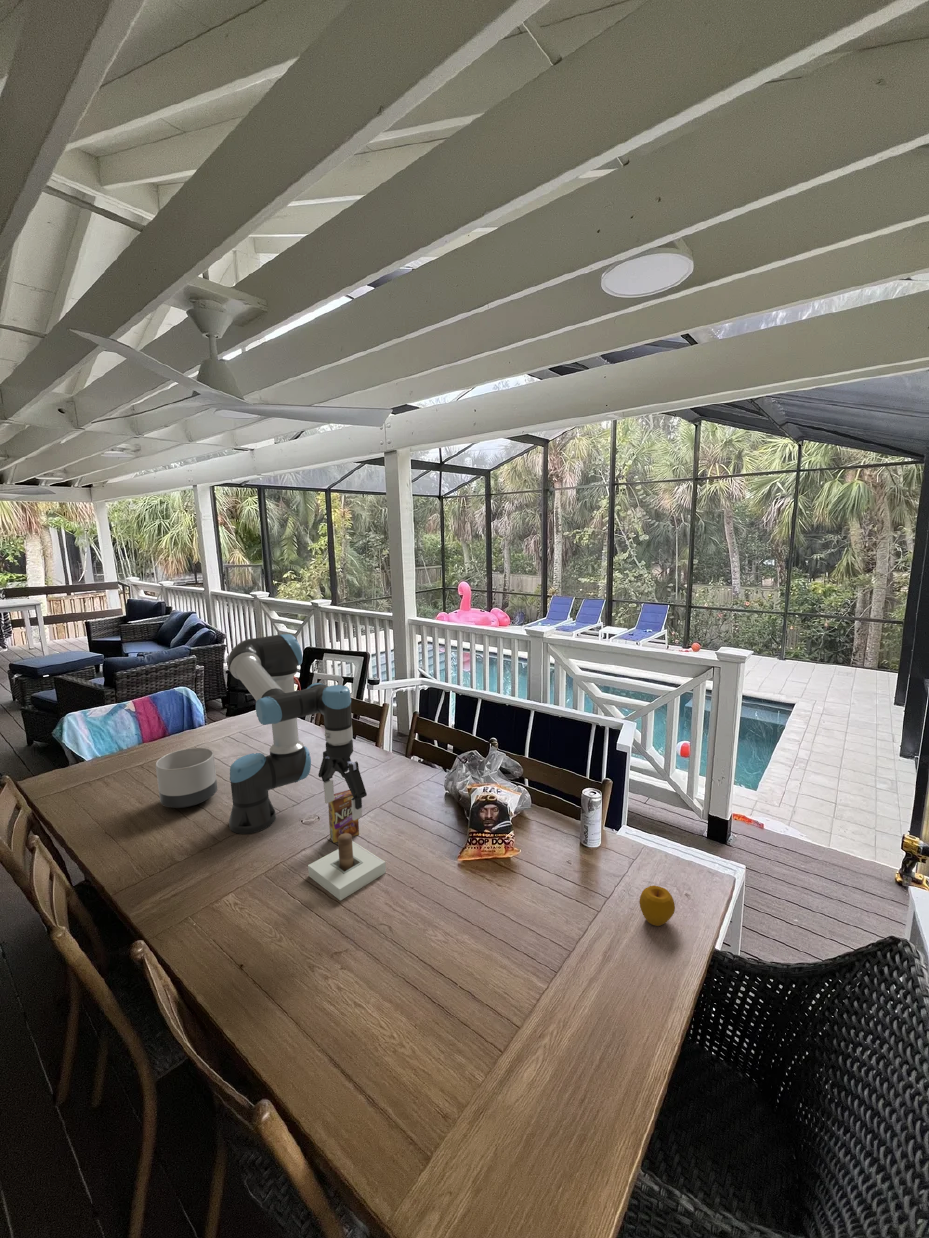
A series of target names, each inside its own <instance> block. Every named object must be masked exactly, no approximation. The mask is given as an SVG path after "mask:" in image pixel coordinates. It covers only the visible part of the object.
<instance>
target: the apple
mask: <svg viewBox="0 0 929 1238" xmlns="http://www.w3.org/2000/svg"><path fill="white" fill-rule="evenodd" d="M675 904H676V903H675V901H674V897H673V895H672V894H671V893H670V892H669V890H668V889H666V888H664V887H662V886H659V885H649V886H647V887H645V888H644V889H643V890H642V892H641V894H640V896H639V907H640V910H641V913H642V915H643V917H644V919H645V920H646V921H647V923H648V924H650V925H652V926H654V927H655V926H656V927H660V926H663V925H665V924H667V923H668V921H669V920H670V919H671V918H672V917H673V915H674V913H675V910H676V906H675Z"/></svg>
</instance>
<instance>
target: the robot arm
mask: <svg viewBox="0 0 929 1238" xmlns="http://www.w3.org/2000/svg"><path fill="white" fill-rule="evenodd" d="M302 663H303V651H302V649H301V644H300V643H299V641H298V640H297V638H296V637H295V636H294V635H293V634H290V633H285V634H283V633H282V634H280V633H279V634H275V635H274V634H273V635H267V636H266V635H265V636H262V637H261V636H260V637H255V638H247V639H244V640H242V641H240V642H238V644H236V645H235V646H234V647H233V648H232V649H231V651H230V652H229V655H228V658H227V668H228V671H229V672H230V674H231V675H232V677H234V678H235V679H237V680H239V681H240V682H241V683H242V685H244V687H245V689H247V690H248V692H249V693H250V695H251V696H252V698H254V700H255V713H256V718H257V720H258V722H259V724H261V725H263V726H266V725H267V726H268V725H271V730H272V742H273V744H272V745H271V746H270V748H269V754H268V755H265V754H263V753H261V752H256V753H248V754H245V755H243V756H241V757H238V758H237V759H236V760H235V761H234V762H232V764H231V765H230V768H229V781H230V790H231V791H230V792H231V799H232V800H231V801H232V809H231V810H230V811H231V812H230V816H229V819H228V824H229V829H230V831H231V832H233V833H236V834H239V835H240V834H241V835H248V834H253V833H258V832H260V831H264V830H266V829H267V828H269V827H270V826H272V825H273V823H275V821H276V817H277V816H276V815H277V814H276V809H275V807H274V805H273V803H272V801H271V800H270V797H269V791H270V790H275V789H278V788H281V787H283V786H287V785H291V784H295V783H298V782H300V781H303V780H305V779H306V778H307V777H308V776H309V774H310V772H311V768H312V765H311V764H312V758H311V756H310V750H309V748H308V747H307V746H304V745H305V744H304V742H302V741H301V740H300V739H299V728H298V718H303V717H308V716H311V715H315V714H321V715H322V716H323V721H324V723H323V724H324V736H325V737H324V738H325V751H323V752H322V760H321V764H320V768H319V771H318V775H317V776H318V778H321V781H322V782H323V792H324V803H325V804H327V805H328V803H329V802H331V801H333V800H334V794H335V791H334V788H335V787H334V780H333V776H334V774H335V773H336V772H337V773H339V774H340V776H341V777H342V778H344V780H345V782H346V785H347V787H348V788H349V789H348V790H350V791H351V793H352V796H353V798H351V801H352V820H356V819H358V820H359V819H360V818H362V817H363V809H362V808H363V800H362V799H363V798H366V797H367V790H366V788H365V785H364V781H363V777H362V775H361V773H360V767H359V762H358V761H357V760H356V761H352V759H351V755H352V754H353V752H354V740H353V737H354V735H353V723H352V722H353V721H352V697H351V690H350V688H349V687H348V686H346V685H341V684H334V685H326V684H324V683H321V682H315V683H312V684H310V685H308V686H307V688H305V689H300V690H296V691H295V679H294V677H295V675H296V674H297V673H298V666H300V665H302Z"/></svg>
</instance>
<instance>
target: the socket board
mask: <svg viewBox="0 0 929 1238" xmlns="http://www.w3.org/2000/svg"><path fill="white" fill-rule="evenodd" d="M352 847H353V863H354V866H353V867H352V868H350V869H348V870H346V871H345V872H344V871H343V870H341V869H340V863H339V848H337V849H336V850H334V851H332V852H330V853H328V854H326V855H325V856H323V857H321V858H319V859H316V860H315V861H313V862H311V863H309V864H308V865H307V868H308V878H309V877H310V878H311V879H312V880H313V881H315V883H317V884H318V885H319V886H321V887H322V888H324V889H325V890H326V891H328V893H330V894H331V895H332V896H334V897H335V898H336V899H337V900H339V901H342V900H344V899H346V898H348V897H349V896H350V895H352V894H353V893H355V892H357V891H358V890H360V889H361V888H364V887H365V886H367V885H368V884H370V883H372V882H373V881H375V880H376V879H378V878H379V877H381V876H382V875H384V874H386V873H387V871H386V870H387V869H386V867H387V866H386V861H385V860H383V859H381V858H380V857H379V856H377V855H375V854H374V853H372V852H370V851H369V850H368V849H366V848H364V847H363V846H361V845H360V844H358V843H357V842H355V841H353V840H352Z"/></svg>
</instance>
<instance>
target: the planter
mask: <svg viewBox="0 0 929 1238" xmlns="http://www.w3.org/2000/svg"><path fill="white" fill-rule="evenodd" d="M155 771H156V779H157V787H158V796H159V802H160V804H161V805H162V806H164V807H166V808H173V809H175V808H177V809H178V808H179V809H183V808H184V809H185V808H190V807H191V808H192V807H195V806H196V805H200V804H201V803H203V802H206V801H207V800H209V799H210V798H211V797H213V796H214V795H215V794H216V793H217V791H218V780H217V772H216V761H215V754H214V751H213V750H212V749H210V748H208V747H189V748H184V749H178V750H175V751H172V752H169V753H167V754H165V755H163V756H161V757H160V758H159V759H157V760H156V762H155Z"/></svg>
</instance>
